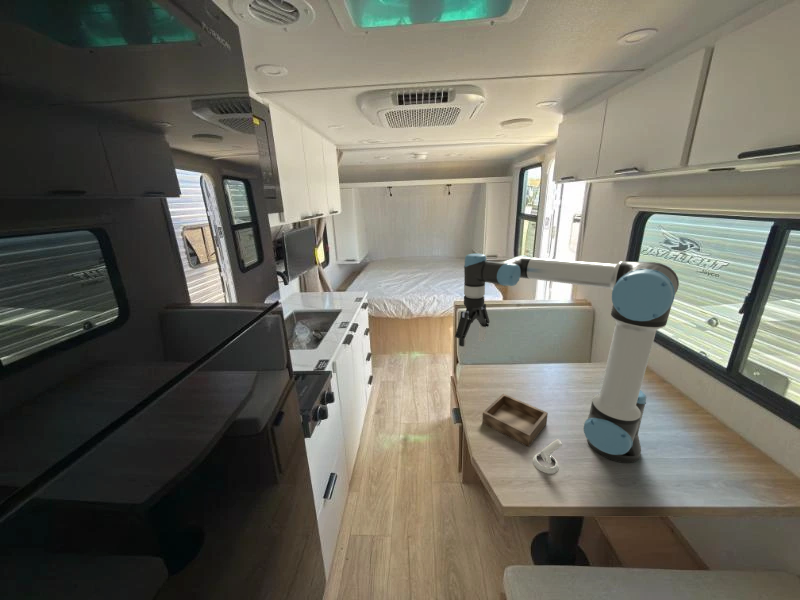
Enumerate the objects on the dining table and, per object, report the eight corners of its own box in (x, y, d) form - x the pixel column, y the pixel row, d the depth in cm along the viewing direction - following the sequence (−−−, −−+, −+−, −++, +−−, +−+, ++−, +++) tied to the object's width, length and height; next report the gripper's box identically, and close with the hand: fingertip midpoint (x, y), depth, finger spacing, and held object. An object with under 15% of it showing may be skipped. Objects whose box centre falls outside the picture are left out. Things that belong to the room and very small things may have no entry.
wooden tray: (546, 423, 116) (547, 412, 115) (528, 447, 106) (529, 435, 104) (502, 403, 129) (503, 393, 127) (482, 423, 118) (482, 412, 117)
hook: (581, 460, 93) (567, 454, 91) (552, 481, 98) (538, 476, 95) (567, 438, 100) (553, 432, 97) (541, 459, 104) (527, 453, 102)
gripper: (483, 286, 125) (481, 334, 131) (445, 301, 108) (445, 355, 115) (500, 289, 120) (497, 339, 126) (463, 306, 103) (462, 361, 110)
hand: (472, 346), depth 120 cm, fingers open, 13 cm apart
